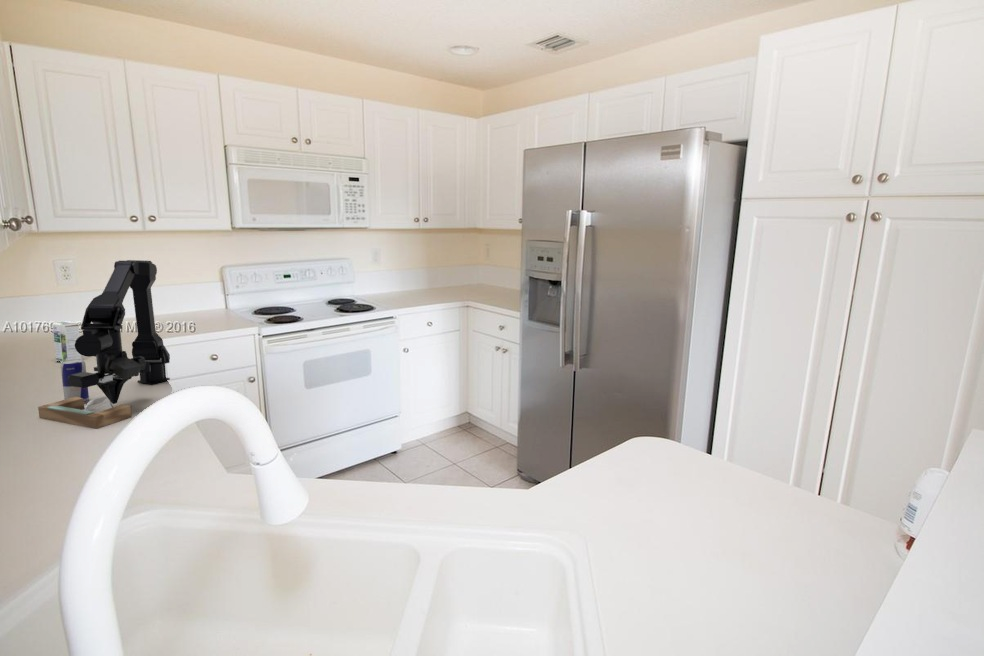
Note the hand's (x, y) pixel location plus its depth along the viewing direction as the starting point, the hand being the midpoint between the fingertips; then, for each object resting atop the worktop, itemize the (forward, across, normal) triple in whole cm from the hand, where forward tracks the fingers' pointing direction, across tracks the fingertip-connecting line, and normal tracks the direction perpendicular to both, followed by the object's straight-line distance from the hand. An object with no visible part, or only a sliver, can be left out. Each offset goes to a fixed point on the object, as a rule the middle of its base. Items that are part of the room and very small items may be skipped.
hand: (114, 403), depth 138 cm
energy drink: (+2, 0, +14) cm, 14 cm away
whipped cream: (+2, -4, -1) cm, 5 cm away
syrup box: (+2, +30, +63) cm, 70 cm away
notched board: (+2, -8, 0) cm, 8 cm away
